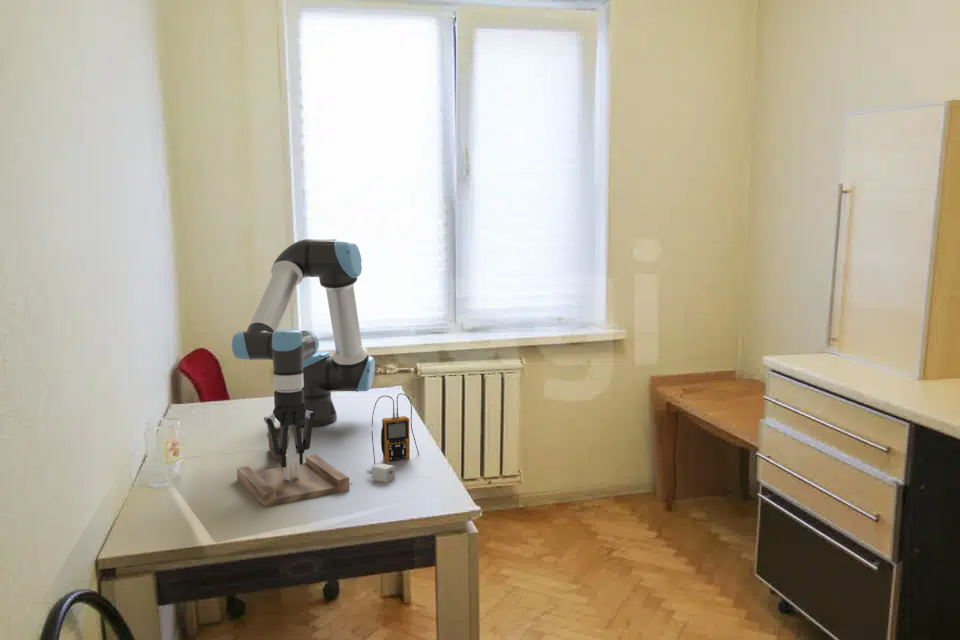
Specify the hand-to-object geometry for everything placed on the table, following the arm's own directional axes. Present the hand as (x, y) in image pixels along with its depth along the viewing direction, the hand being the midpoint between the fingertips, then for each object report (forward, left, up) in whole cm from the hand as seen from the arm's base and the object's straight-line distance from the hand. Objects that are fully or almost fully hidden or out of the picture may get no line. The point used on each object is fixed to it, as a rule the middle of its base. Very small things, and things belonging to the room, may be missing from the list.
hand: (292, 477), depth 200 cm
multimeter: (-31, +1, -2) cm, 31 cm away
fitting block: (0, 0, -2) cm, 2 cm away
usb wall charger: (-21, +9, -2) cm, 23 cm away
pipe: (-4, -26, -2) cm, 26 cm away
